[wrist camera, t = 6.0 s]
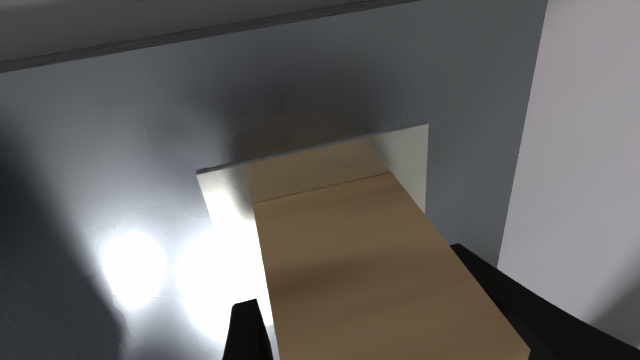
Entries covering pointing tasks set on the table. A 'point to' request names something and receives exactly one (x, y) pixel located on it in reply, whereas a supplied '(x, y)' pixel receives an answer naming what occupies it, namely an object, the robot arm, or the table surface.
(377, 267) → the oak block
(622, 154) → the table surface
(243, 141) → the base
